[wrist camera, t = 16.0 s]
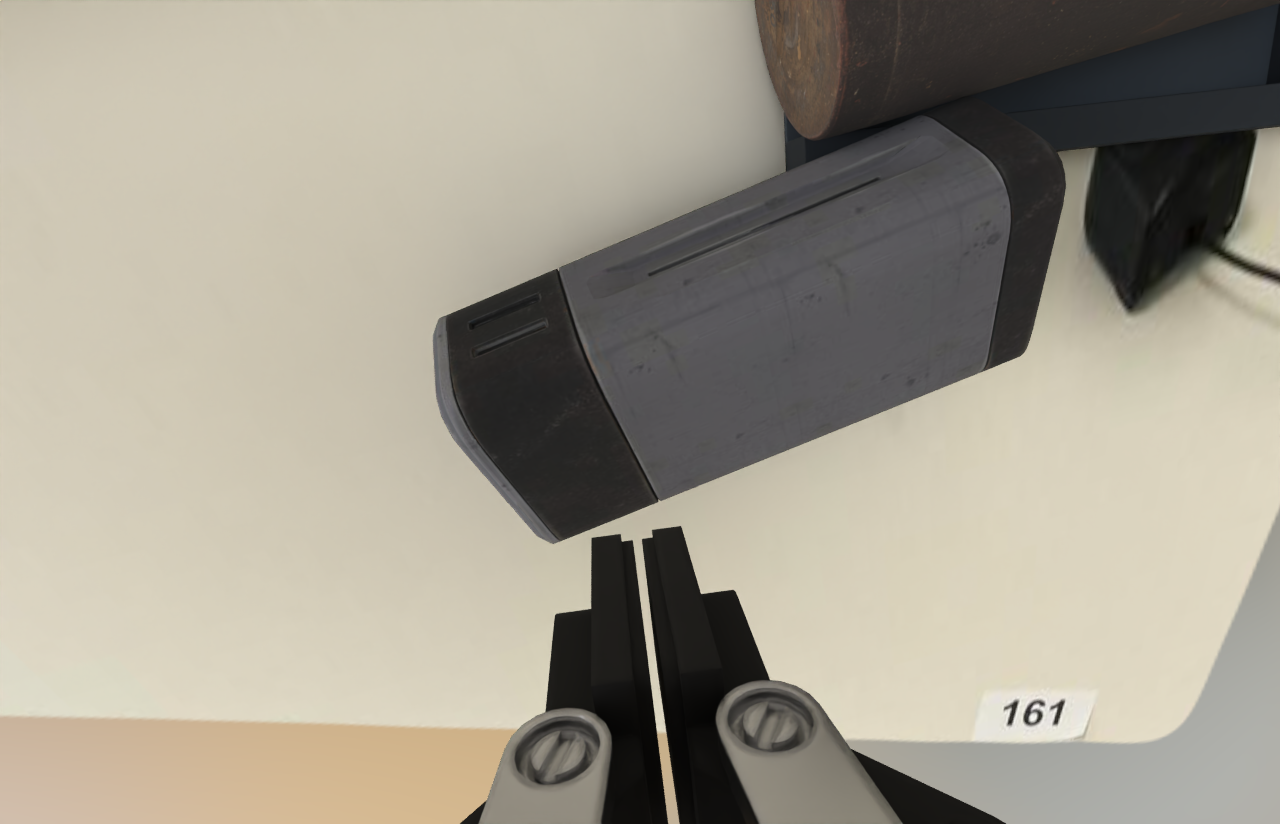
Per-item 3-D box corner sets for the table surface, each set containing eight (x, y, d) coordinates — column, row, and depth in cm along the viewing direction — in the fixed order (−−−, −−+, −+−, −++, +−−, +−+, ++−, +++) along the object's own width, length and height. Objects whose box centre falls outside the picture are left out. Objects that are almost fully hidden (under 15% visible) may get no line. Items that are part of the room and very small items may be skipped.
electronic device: (532, 451, 29) (942, 283, 29) (554, 562, 25) (1031, 370, 25) (424, 303, 23) (961, 76, 22) (430, 423, 19) (1088, 150, 18)
